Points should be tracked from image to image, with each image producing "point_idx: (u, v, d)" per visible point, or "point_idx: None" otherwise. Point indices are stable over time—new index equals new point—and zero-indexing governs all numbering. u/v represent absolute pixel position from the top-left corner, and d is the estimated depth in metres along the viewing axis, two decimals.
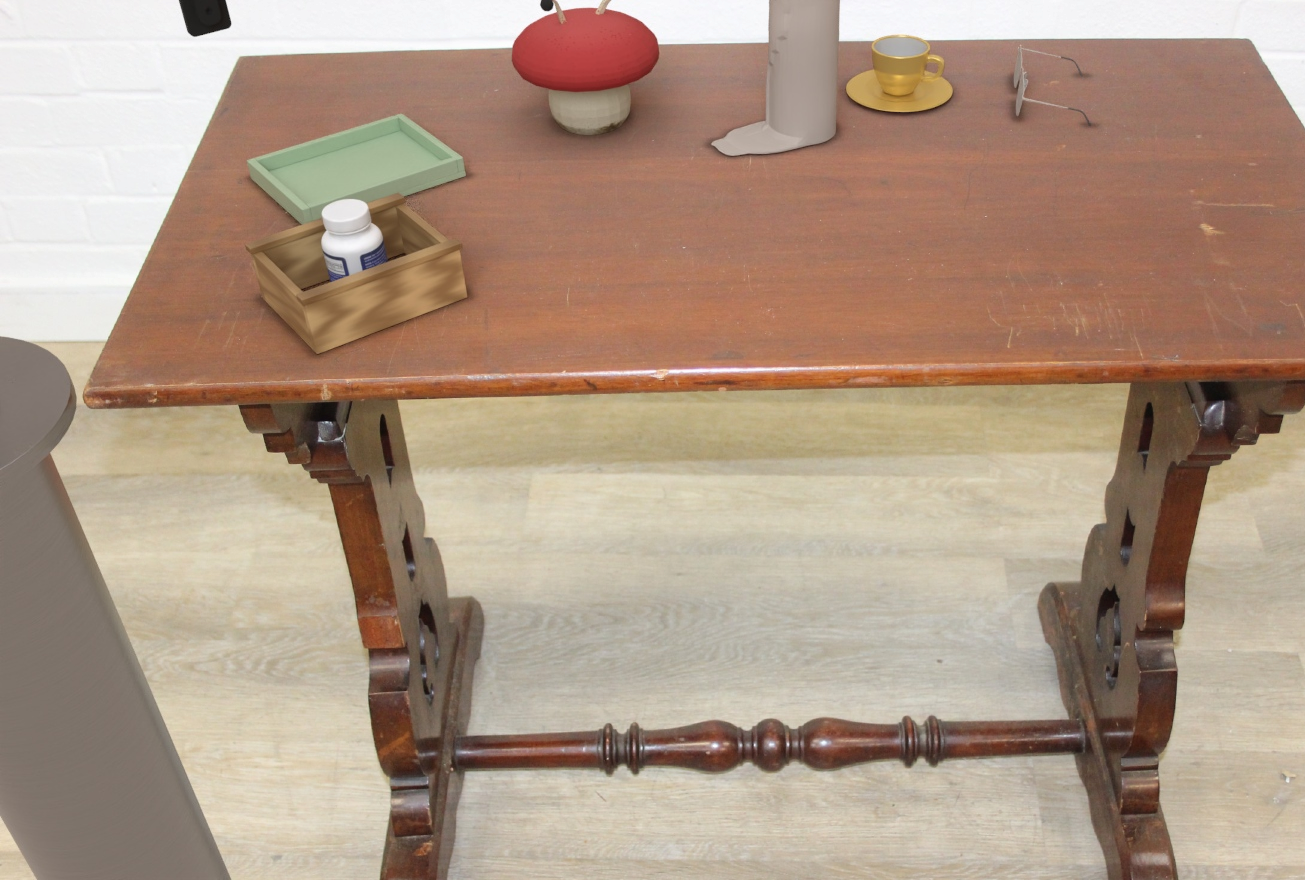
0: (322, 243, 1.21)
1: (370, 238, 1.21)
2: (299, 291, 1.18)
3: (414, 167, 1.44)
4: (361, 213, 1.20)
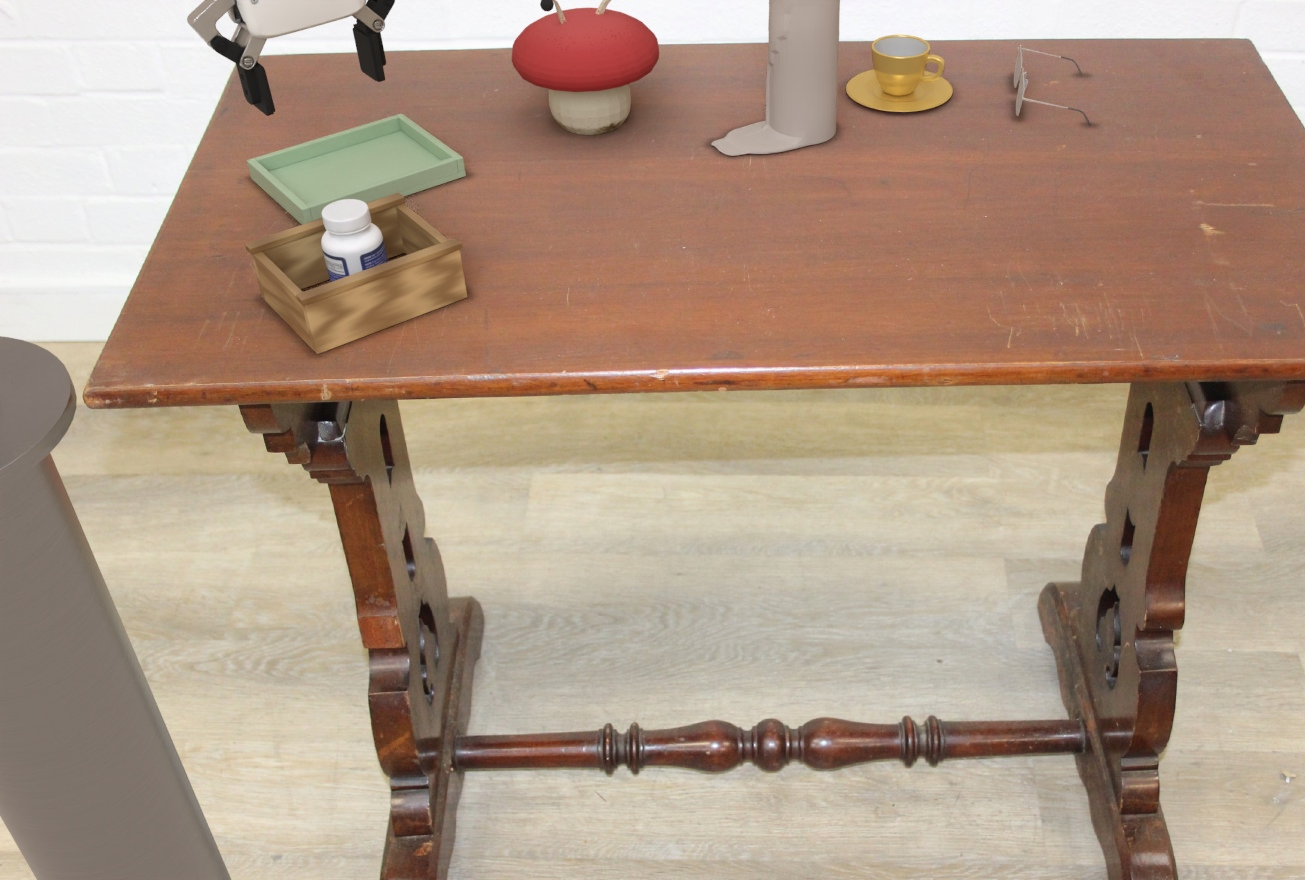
0: (322, 243, 1.21)
1: (370, 238, 1.21)
2: (299, 291, 1.18)
3: (414, 167, 1.44)
4: (361, 213, 1.20)
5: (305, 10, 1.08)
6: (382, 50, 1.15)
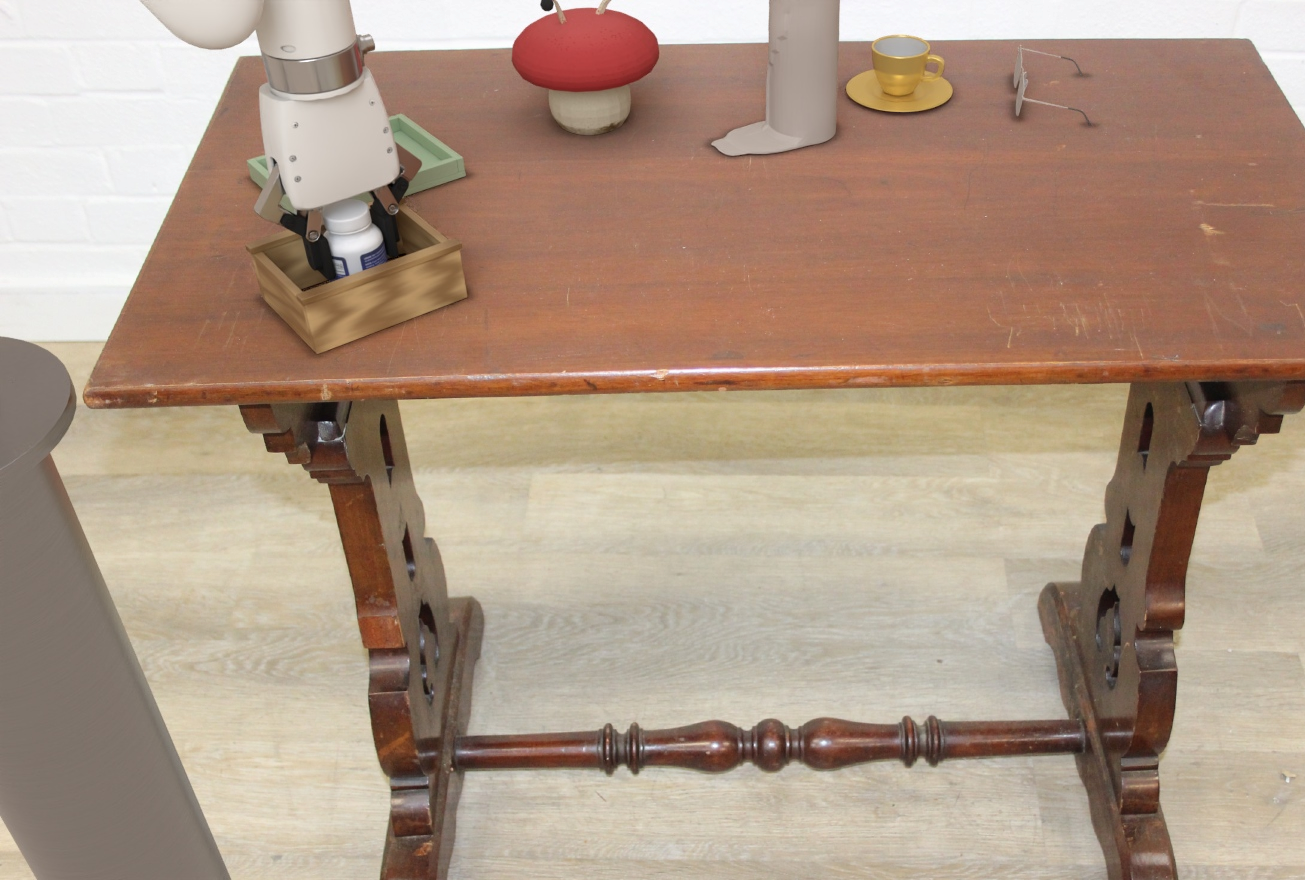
0: None
1: (371, 238, 1.21)
2: (299, 291, 1.18)
3: None
4: (362, 213, 1.20)
5: (344, 184, 1.17)
6: (396, 229, 1.24)
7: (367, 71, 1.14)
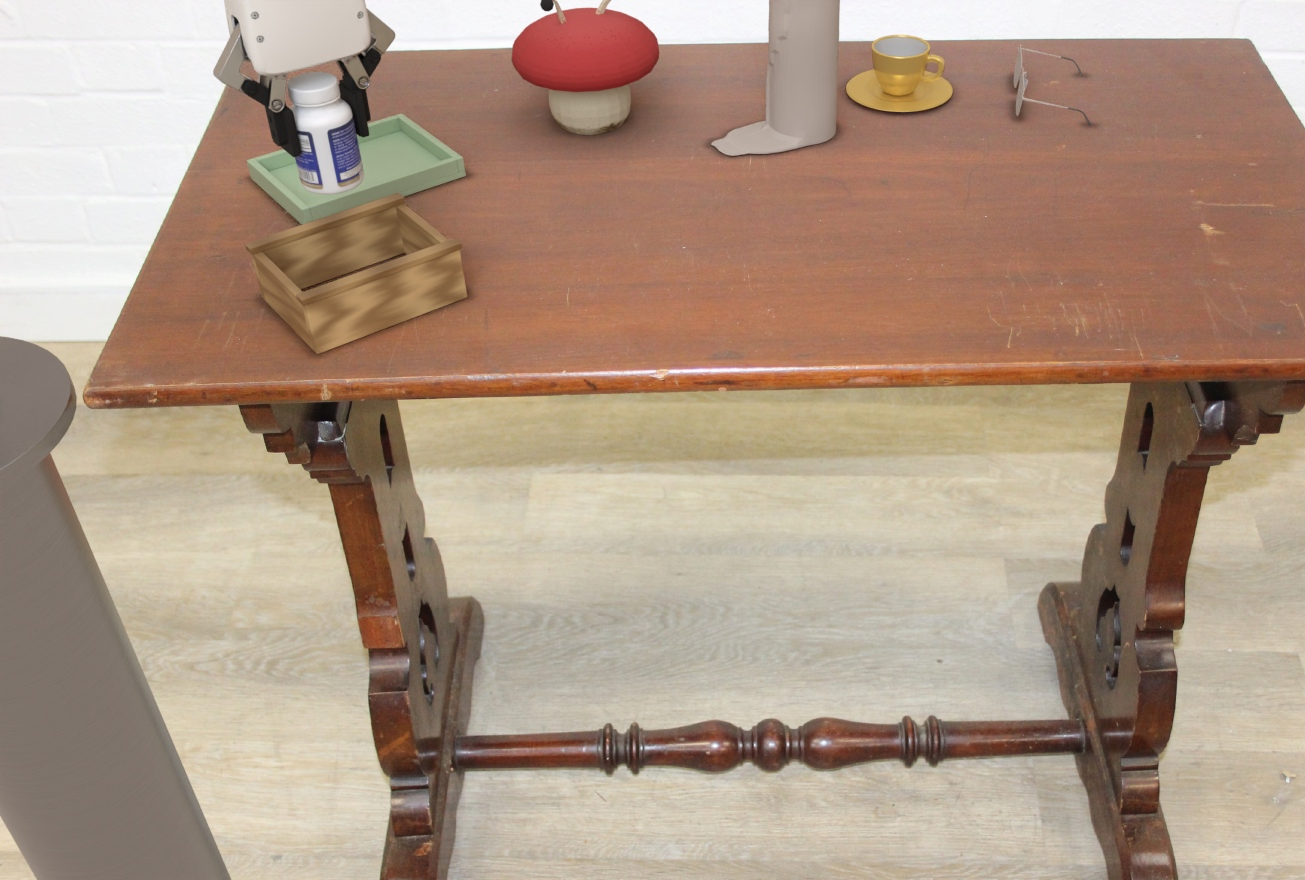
0: None
1: (339, 112, 1.13)
2: (299, 291, 1.18)
3: (414, 167, 1.44)
4: (330, 85, 1.12)
5: (310, 49, 1.09)
6: (367, 106, 1.16)
7: None
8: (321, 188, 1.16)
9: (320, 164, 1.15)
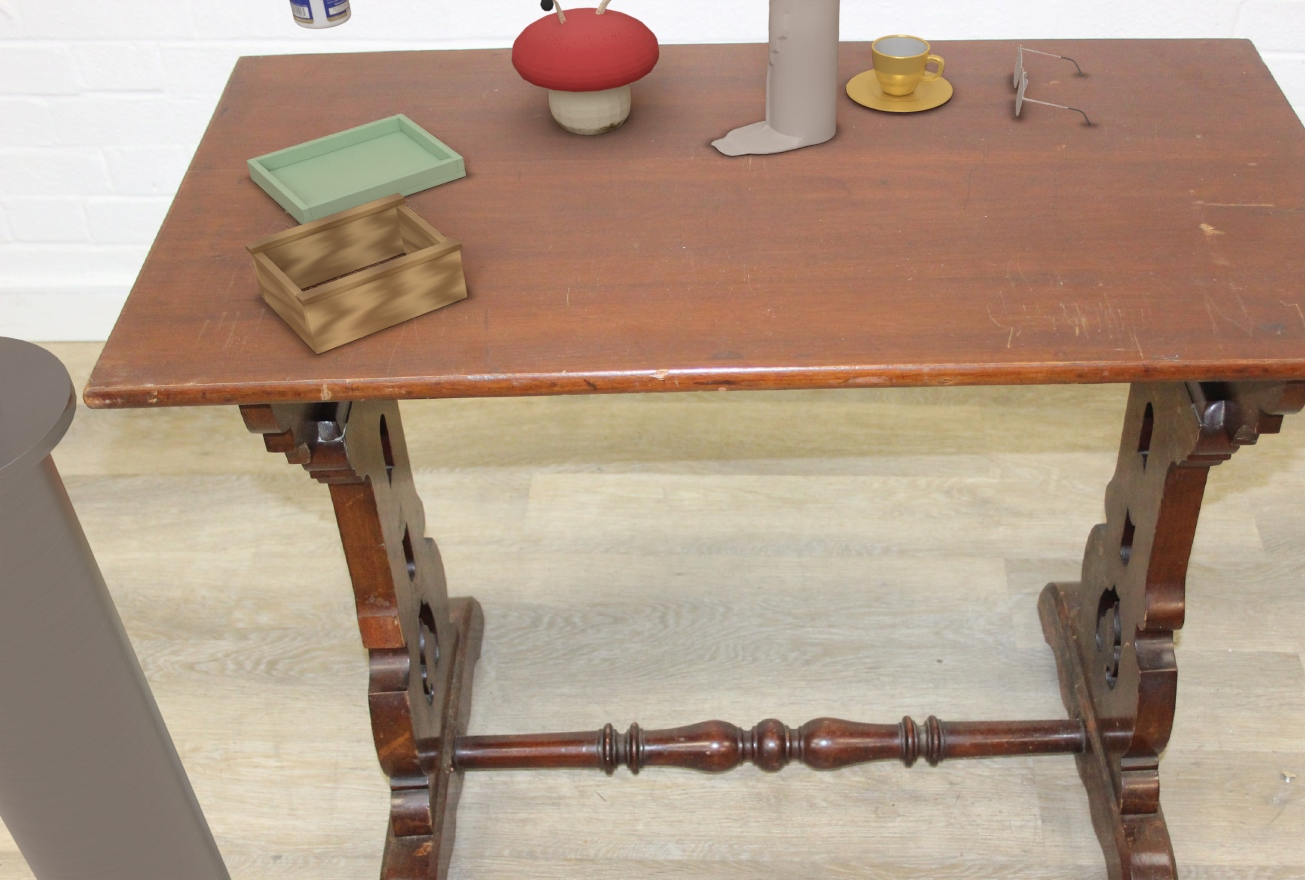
0: None
1: None
2: (299, 291, 1.18)
3: (414, 167, 1.44)
4: None
5: None
6: None
7: None
8: (312, 22, 1.28)
9: None
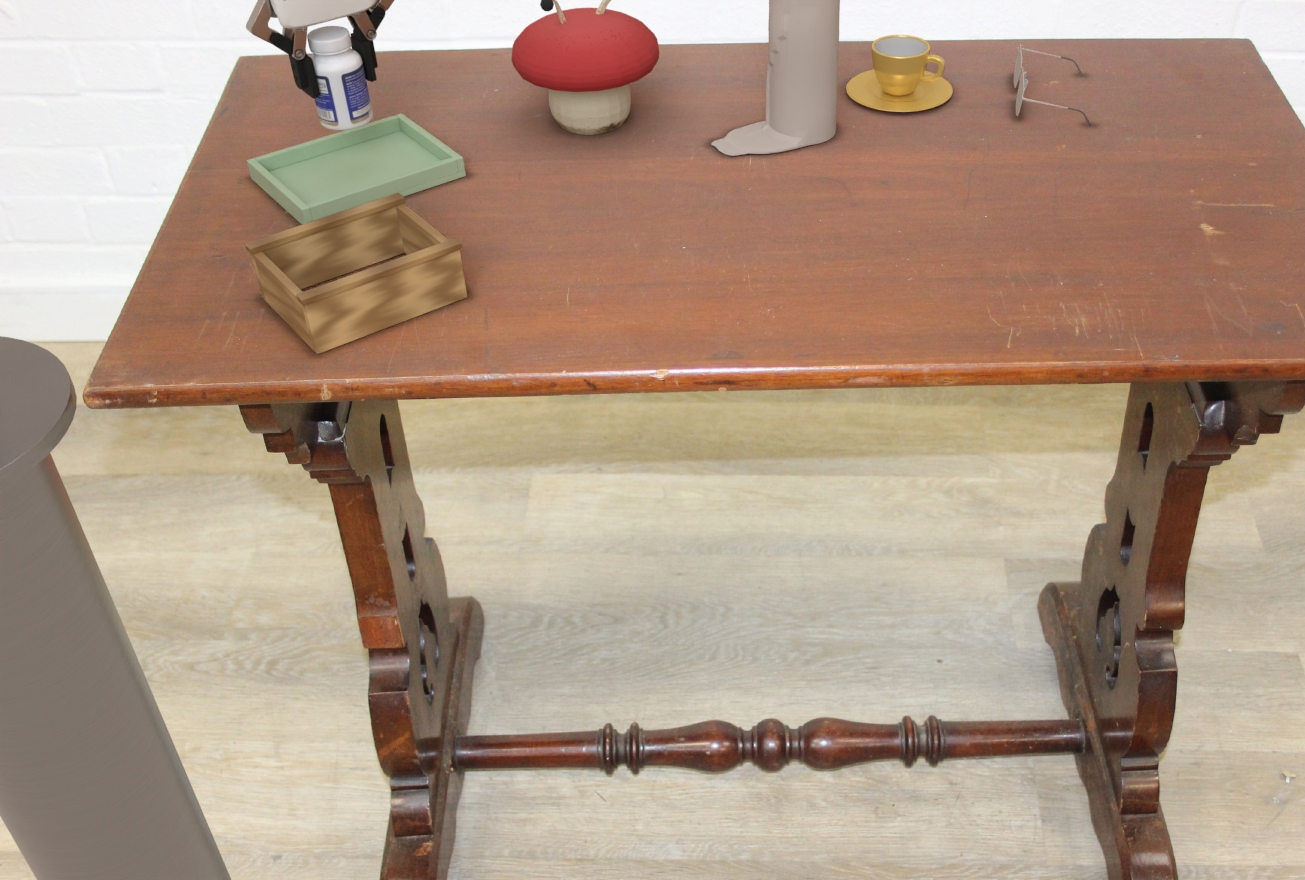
0: None
1: (351, 60, 1.35)
2: (299, 291, 1.18)
3: (414, 167, 1.44)
4: (343, 36, 1.34)
5: (326, 6, 1.31)
6: (374, 55, 1.38)
7: None
8: (336, 124, 1.38)
9: (336, 104, 1.36)
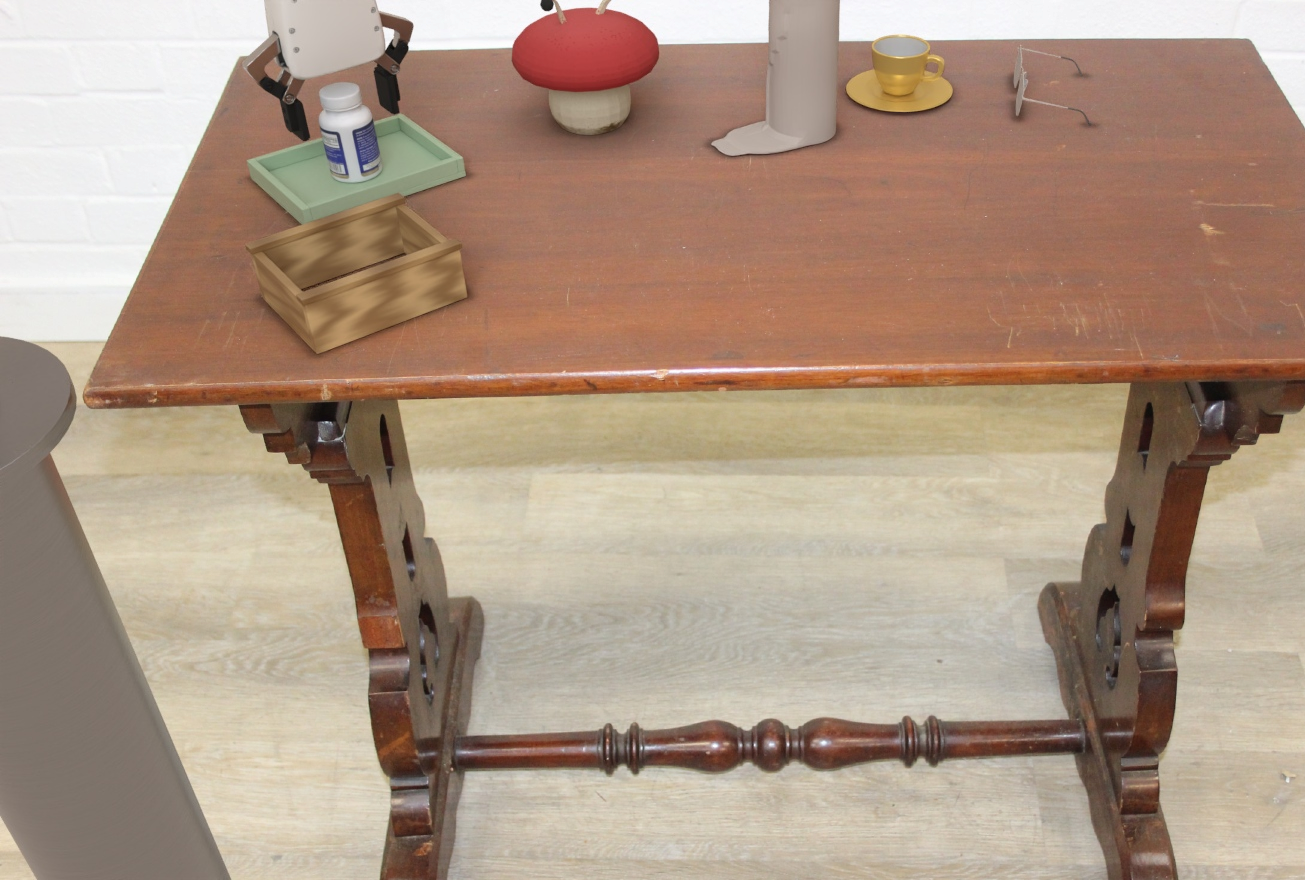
0: (319, 120, 1.39)
1: (361, 115, 1.39)
2: (299, 291, 1.18)
3: (414, 167, 1.44)
4: (353, 93, 1.37)
5: (336, 57, 1.34)
6: (397, 88, 1.41)
7: None
8: (347, 177, 1.41)
9: (346, 158, 1.40)
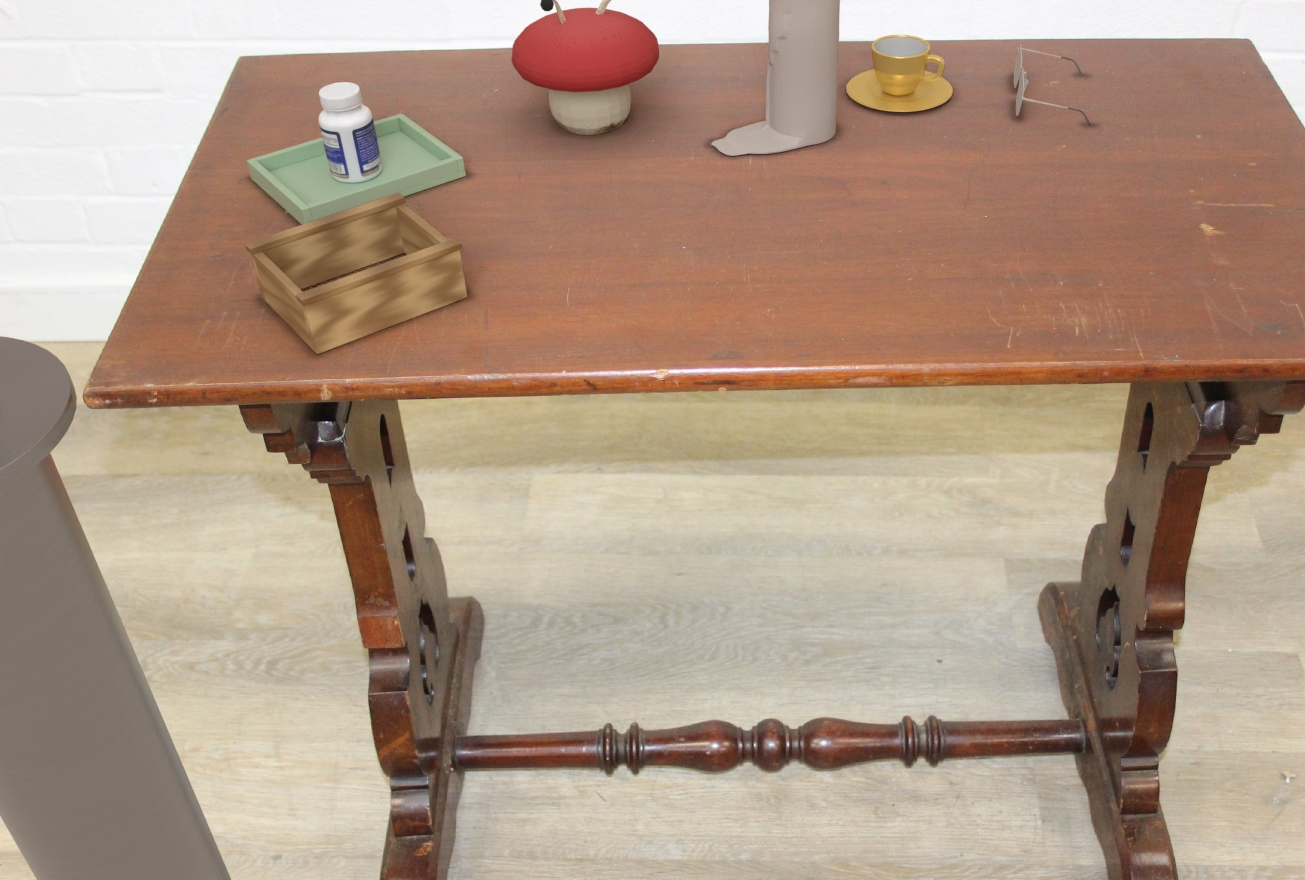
0: (319, 120, 1.39)
1: (361, 115, 1.39)
2: (299, 291, 1.18)
3: (414, 167, 1.44)
4: (353, 93, 1.37)
5: None
6: None
7: None
8: (347, 177, 1.41)
9: (346, 158, 1.40)
